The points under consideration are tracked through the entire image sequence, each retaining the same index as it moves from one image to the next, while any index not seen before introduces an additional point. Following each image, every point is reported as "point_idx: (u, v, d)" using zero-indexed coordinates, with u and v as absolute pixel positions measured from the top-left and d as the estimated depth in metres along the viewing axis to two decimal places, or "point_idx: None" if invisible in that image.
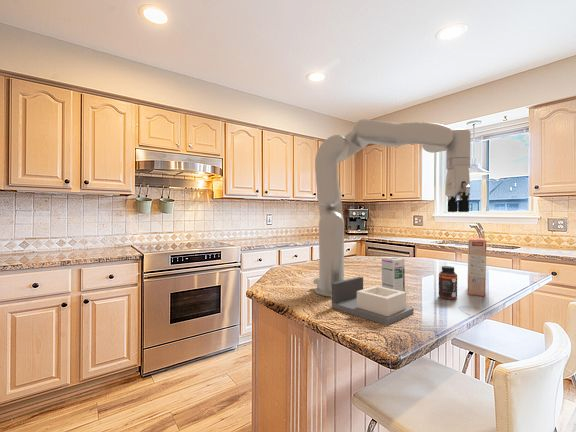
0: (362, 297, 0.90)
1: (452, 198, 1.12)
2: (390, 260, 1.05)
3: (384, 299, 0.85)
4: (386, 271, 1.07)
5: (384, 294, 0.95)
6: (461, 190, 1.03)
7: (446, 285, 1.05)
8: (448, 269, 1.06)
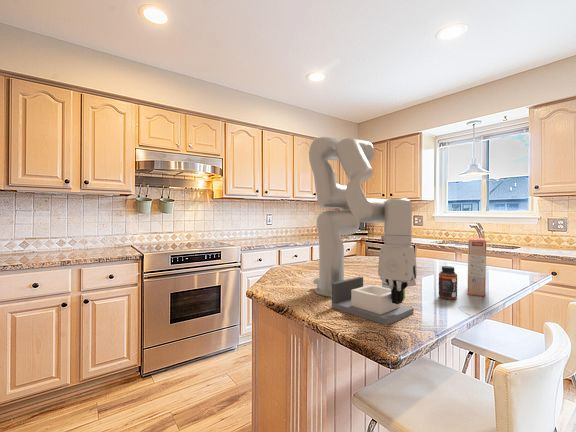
0: (356, 296, 0.92)
1: None
2: None
3: (378, 297, 0.86)
4: None
5: (378, 293, 0.96)
6: None
7: (446, 285, 1.05)
8: (448, 269, 1.06)
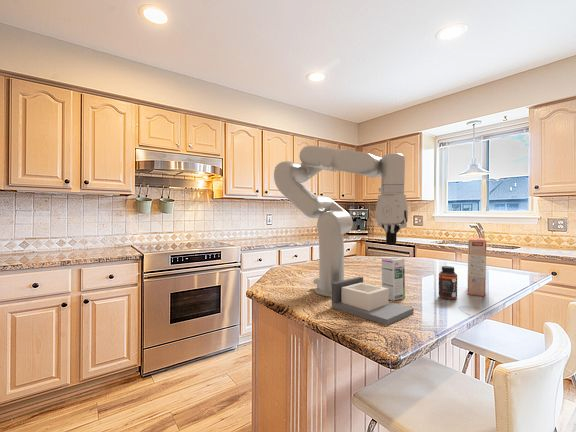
0: (346, 293, 0.95)
1: None
2: (390, 260, 1.05)
3: (366, 295, 0.89)
4: (386, 271, 1.07)
5: (368, 290, 0.99)
6: None
7: (446, 285, 1.05)
8: (448, 269, 1.06)
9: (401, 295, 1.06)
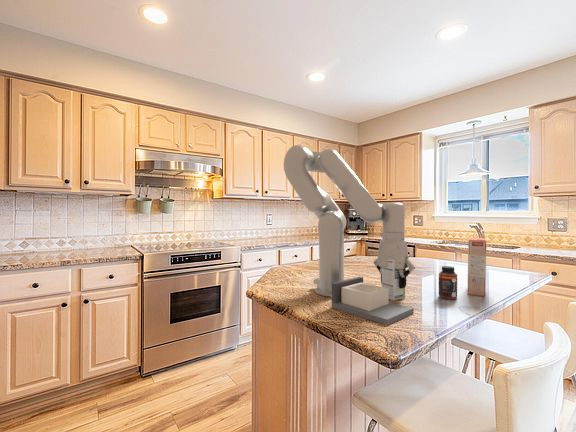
0: (346, 293, 0.95)
1: None
2: (390, 260, 1.05)
3: (366, 295, 0.89)
4: (386, 271, 1.07)
5: (368, 290, 0.99)
6: None
7: (446, 285, 1.05)
8: (448, 269, 1.06)
9: (401, 295, 1.06)
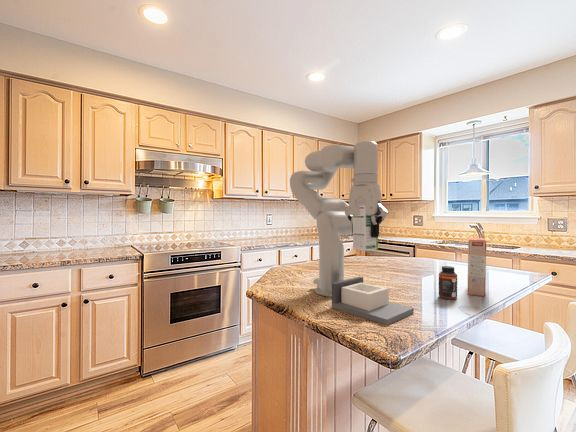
0: (346, 293, 0.95)
1: None
2: (361, 206, 0.93)
3: (366, 295, 0.89)
4: (357, 220, 0.95)
5: (368, 290, 0.99)
6: None
7: (446, 285, 1.05)
8: (448, 269, 1.06)
9: (373, 245, 0.94)
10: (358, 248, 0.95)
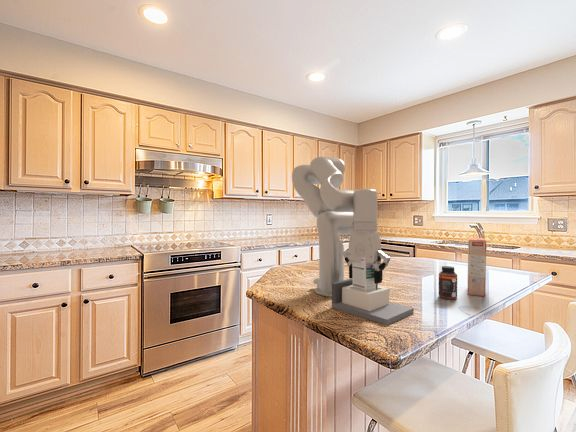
0: (347, 293, 0.95)
1: None
2: None
3: (367, 295, 0.89)
4: (356, 270, 0.95)
5: None
6: None
7: (446, 285, 1.05)
8: (448, 269, 1.06)
9: None
10: None
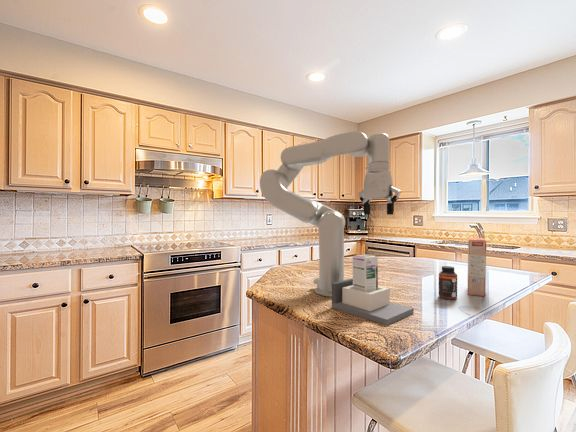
0: (347, 293, 0.95)
1: None
2: (362, 258, 0.93)
3: (367, 295, 0.89)
4: (357, 271, 0.95)
5: None
6: None
7: (446, 285, 1.05)
8: (448, 269, 1.06)
9: None
10: None
